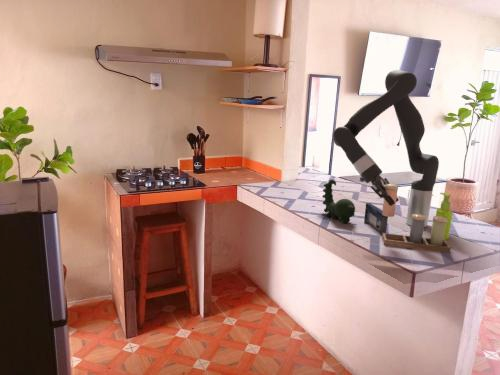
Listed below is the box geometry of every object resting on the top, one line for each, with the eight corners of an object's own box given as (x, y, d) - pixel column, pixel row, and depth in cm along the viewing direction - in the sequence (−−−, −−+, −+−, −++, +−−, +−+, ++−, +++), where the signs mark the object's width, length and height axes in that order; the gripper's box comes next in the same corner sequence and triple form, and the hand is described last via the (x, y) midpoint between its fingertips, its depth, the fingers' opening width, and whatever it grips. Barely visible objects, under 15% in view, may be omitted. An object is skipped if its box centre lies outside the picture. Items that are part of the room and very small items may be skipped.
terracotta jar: (381, 212, 154) (384, 183, 151) (394, 213, 152) (397, 184, 150) (382, 216, 149) (385, 186, 146) (395, 217, 148) (398, 187, 145)
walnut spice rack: (381, 240, 157) (382, 232, 156) (444, 248, 152) (445, 240, 151) (383, 248, 149) (384, 239, 148) (449, 256, 144) (450, 247, 143)
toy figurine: (317, 215, 194) (344, 227, 170) (318, 178, 191) (346, 185, 168) (333, 214, 197) (362, 225, 173) (334, 177, 194) (364, 184, 171)
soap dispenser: (441, 237, 164) (449, 192, 160) (450, 243, 158) (458, 196, 153) (428, 236, 164) (435, 191, 159) (436, 242, 157) (444, 195, 153)
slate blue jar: (407, 241, 153) (411, 213, 150) (420, 243, 152) (424, 214, 149) (409, 246, 148) (413, 216, 146) (422, 247, 147) (426, 218, 144)
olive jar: (427, 244, 151) (432, 215, 148) (440, 245, 150) (445, 216, 147) (430, 248, 147) (434, 218, 144) (443, 250, 145) (448, 220, 143)
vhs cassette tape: (363, 223, 179) (365, 202, 177) (369, 223, 180) (372, 202, 177) (379, 237, 162) (381, 214, 159) (385, 237, 162) (388, 214, 160)
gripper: (368, 165, 144) (398, 201, 141) (380, 160, 156) (407, 194, 152) (353, 177, 149) (381, 212, 145) (366, 171, 160) (392, 204, 156)
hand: (394, 202), depth 149 cm, fingers closed on terracotta jar, 4 cm apart
